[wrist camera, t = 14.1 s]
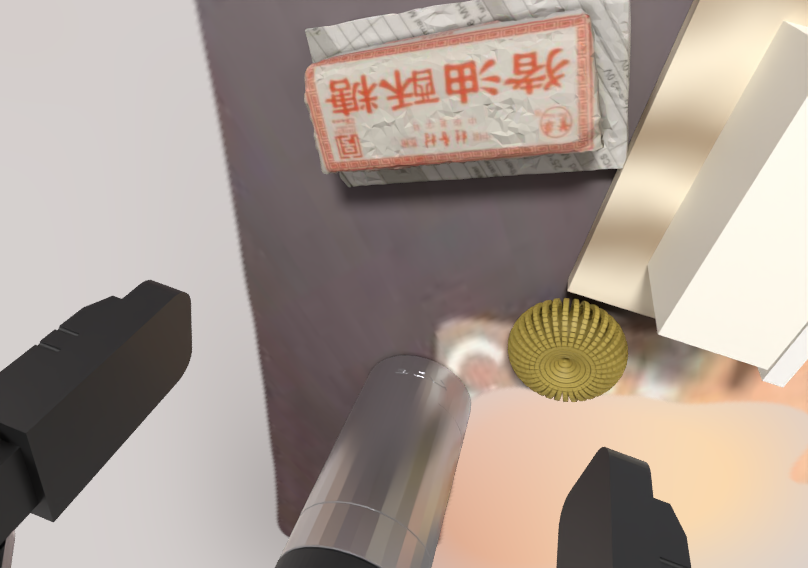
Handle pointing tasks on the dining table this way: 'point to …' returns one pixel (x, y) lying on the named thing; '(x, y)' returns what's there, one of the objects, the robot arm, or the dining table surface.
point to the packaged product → (472, 91)
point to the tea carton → (745, 222)
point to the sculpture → (567, 350)
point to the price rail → (788, 360)
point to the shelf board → (675, 142)
